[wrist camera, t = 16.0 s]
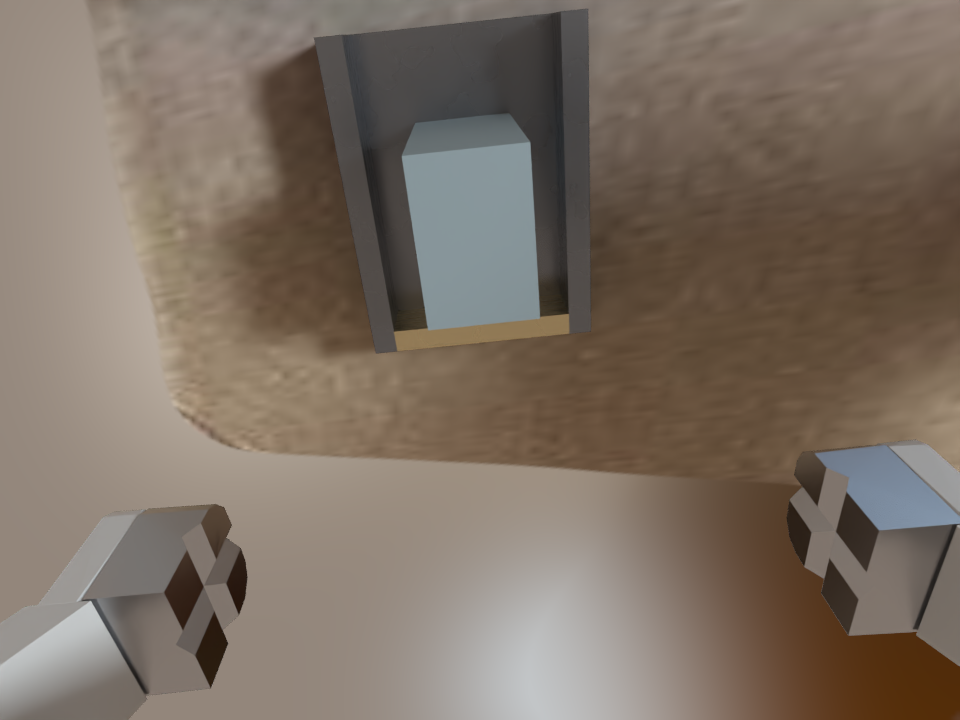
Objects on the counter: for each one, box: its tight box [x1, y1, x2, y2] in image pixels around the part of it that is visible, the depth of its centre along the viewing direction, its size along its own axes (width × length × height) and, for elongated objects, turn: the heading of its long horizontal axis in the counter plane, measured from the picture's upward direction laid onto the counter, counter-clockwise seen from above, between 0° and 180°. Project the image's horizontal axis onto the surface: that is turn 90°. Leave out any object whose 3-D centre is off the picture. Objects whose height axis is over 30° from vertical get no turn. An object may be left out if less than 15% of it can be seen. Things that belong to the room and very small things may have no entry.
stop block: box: [402, 113, 540, 330], centre depth 24 cm, size 4×6×8 cm, turn 6°
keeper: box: [314, 9, 591, 353], centre depth 27 cm, size 10×13×3 cm
